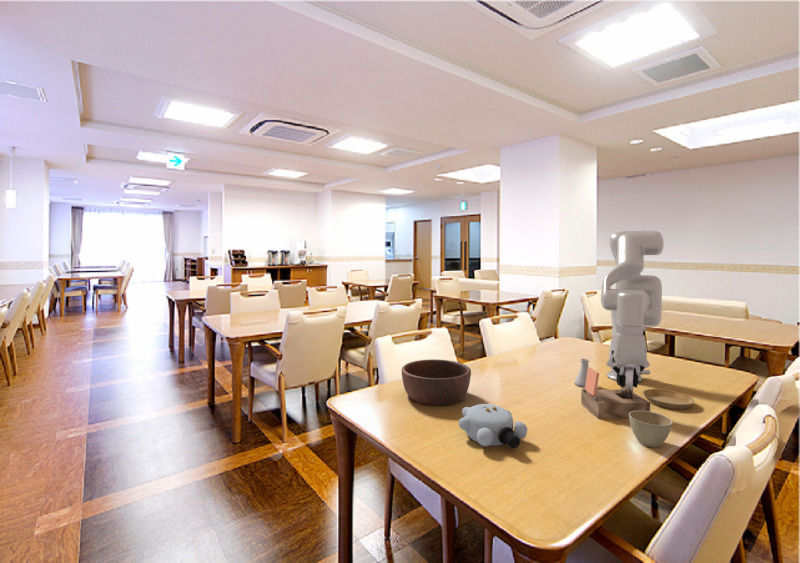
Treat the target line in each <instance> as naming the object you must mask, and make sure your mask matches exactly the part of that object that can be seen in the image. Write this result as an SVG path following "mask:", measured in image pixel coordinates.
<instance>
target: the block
mask: <svg viewBox="0 0 800 563" xmlns="http://www.w3.org/2000/svg"><path fill="white" fill-rule="evenodd" d="M580 392H581V396H580V397H581V398H580V402H581V403H580V404H581V405H582V406H583V407H584V408H585V409H586V410H588V411H589V412H590V413H591V414H592V415H594V416H595V417H596V419H599V420H600V419H605V420H606V419H614V420H617V419H625V420H626V419H628V420H629V413H630V412H632V411H649V412H651V402H650V401H649V400H648V399H647V400H646V398H645V399H644V398H643V397H641V395H638V394H637V393H635V392H633V398H632V399H627V398H623V397H621V389H597V391H596V396H593V395H591V394H590V393H589V392H587V391H586V390H585V387H582V388H581V391H580Z"/></svg>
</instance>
